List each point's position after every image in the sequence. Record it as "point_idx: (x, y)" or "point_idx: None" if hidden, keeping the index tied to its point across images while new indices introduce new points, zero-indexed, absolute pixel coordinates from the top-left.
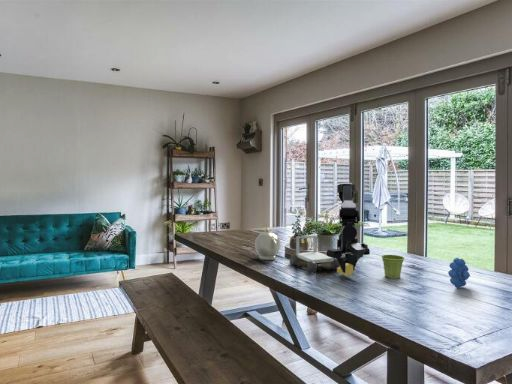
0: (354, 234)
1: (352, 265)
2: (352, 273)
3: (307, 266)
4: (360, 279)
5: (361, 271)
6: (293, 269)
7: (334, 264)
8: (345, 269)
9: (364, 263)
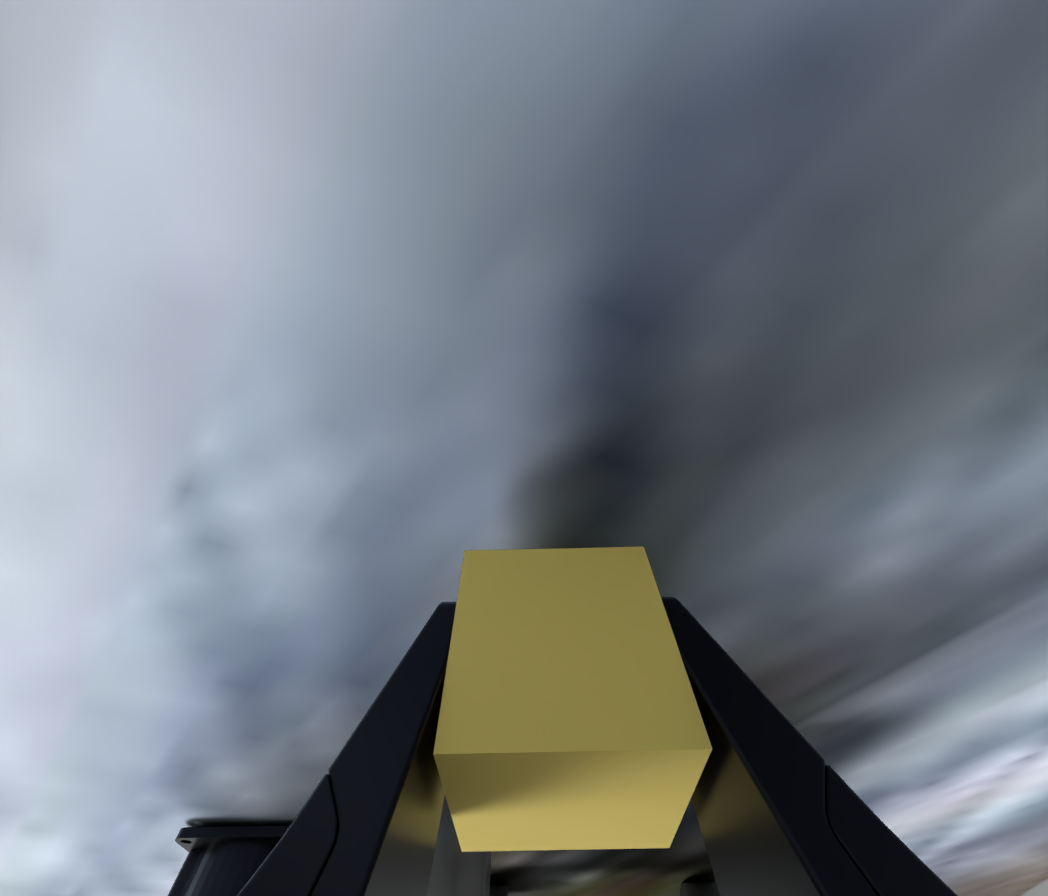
0: None
1: (462, 743)
2: (479, 564)
3: None
4: (411, 371)
5: (196, 671)
6: None
7: None
8: (679, 652)
9: (67, 816)
